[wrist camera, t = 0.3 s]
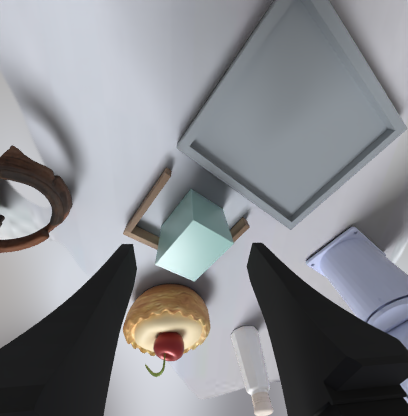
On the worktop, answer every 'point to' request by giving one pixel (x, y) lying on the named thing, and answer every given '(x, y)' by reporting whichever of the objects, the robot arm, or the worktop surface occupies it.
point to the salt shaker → (252, 367)
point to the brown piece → (42, 181)
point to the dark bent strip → (131, 227)
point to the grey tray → (293, 113)
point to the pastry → (167, 322)
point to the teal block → (193, 237)
